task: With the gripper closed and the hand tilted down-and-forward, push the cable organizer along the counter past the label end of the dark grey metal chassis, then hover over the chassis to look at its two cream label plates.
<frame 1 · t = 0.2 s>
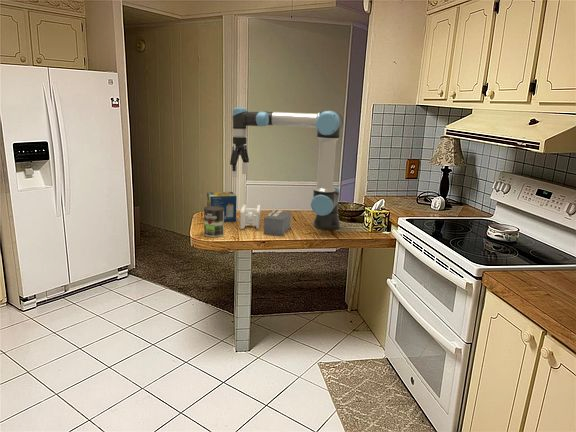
hand: (239, 175, 245), 27 cm above the counter, tool pointing down, fingers open, 13 cm apart
chassis: (277, 230, 240), on the counter
cable organizer: (250, 227, 245), on the counter
coffee can: (214, 234, 229), on the counter
protein box: (221, 220, 256), on the counter
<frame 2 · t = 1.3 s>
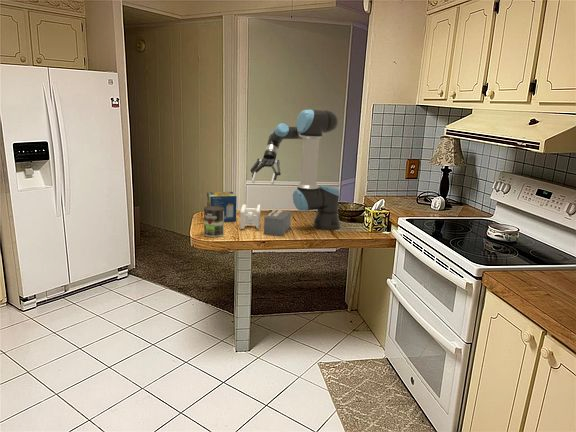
hand: (262, 182, 259), 21 cm above the counter, tool tilted 45°, fingers open, 11 cm apart
nothing on the counter moved.
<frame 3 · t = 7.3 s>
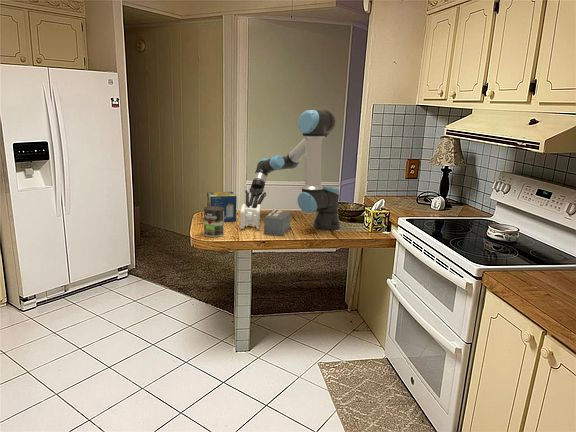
hand: (248, 217, 248), 4 cm above the counter, tool tilted 45°, fingers closed
cable organizer: (250, 227, 245), on the counter, touching gripper
everything else where it was.
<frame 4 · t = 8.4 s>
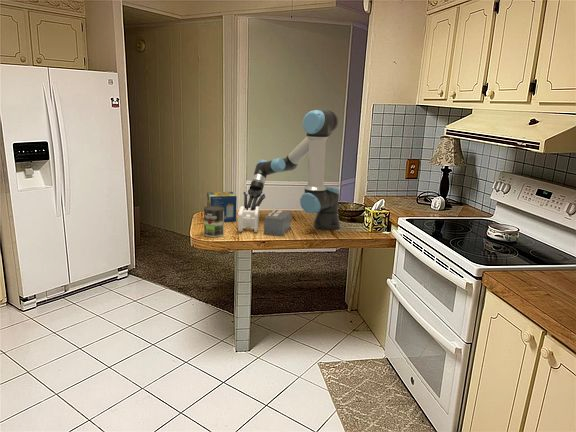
hand: (247, 219, 242), 5 cm above the counter, tool tilted 45°, fingers closed
cable organizer: (248, 229, 239), on the counter, touching gripper
everything else where it was.
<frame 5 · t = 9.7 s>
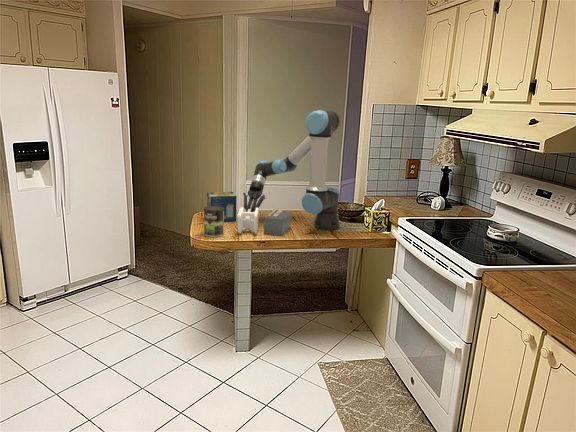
hand: (247, 220, 239), 5 cm above the counter, tool tilted 45°, fingers closed
cable organizer: (247, 231, 236), on the counter, touching gripper
everything else where it was.
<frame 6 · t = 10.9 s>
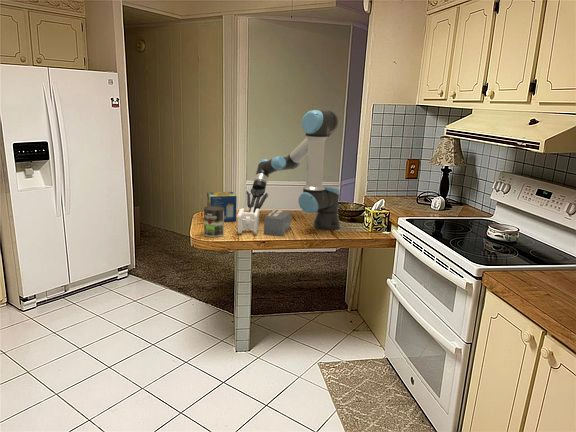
hand: (250, 218, 244), 5 cm above the counter, tool tilted 45°, fingers closed
cable organizer: (248, 232, 236), on the counter
everything else where it was.
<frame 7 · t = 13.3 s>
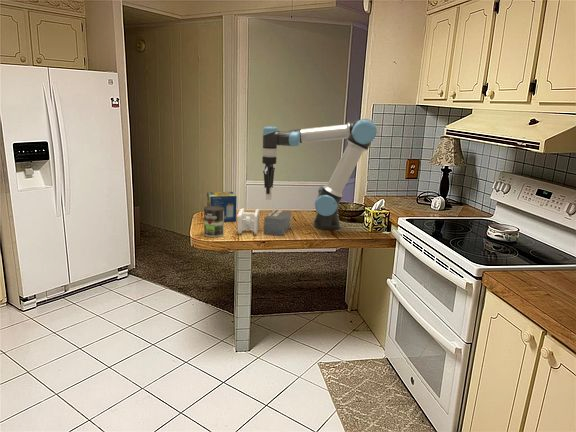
hand: (268, 199, 240), 16 cm above the counter, tool pointing down, fingers closed
nothing on the counter moved.
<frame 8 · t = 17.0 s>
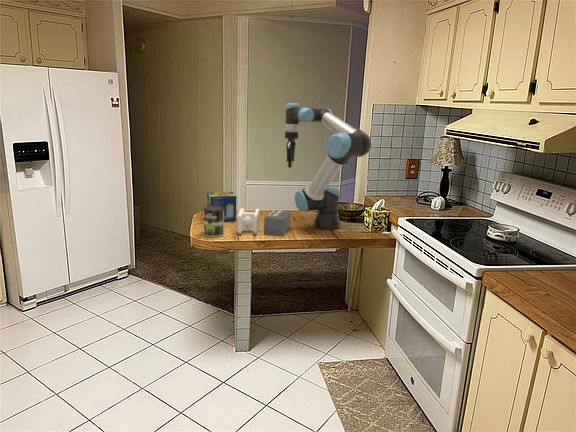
hand: (289, 172, 255), 28 cm above the counter, tool pointing down, fingers closed
nothing on the counter moved.
at the end: cable organizer inside the target area (6.7 cm from its centre), on the counter; cable organizer tilted 0°; cable organizer moved 9.3 cm from its start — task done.
